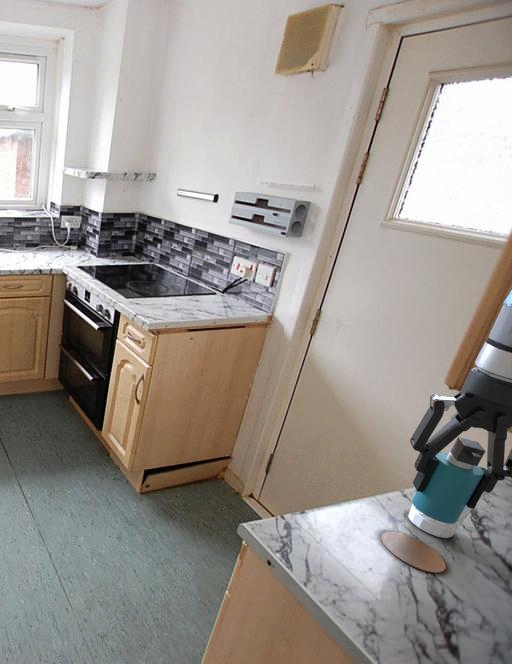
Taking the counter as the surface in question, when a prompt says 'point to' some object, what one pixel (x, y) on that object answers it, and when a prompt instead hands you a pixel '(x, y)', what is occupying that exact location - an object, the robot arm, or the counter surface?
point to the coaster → (413, 552)
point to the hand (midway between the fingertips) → (442, 495)
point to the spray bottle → (451, 482)
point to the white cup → (436, 523)
